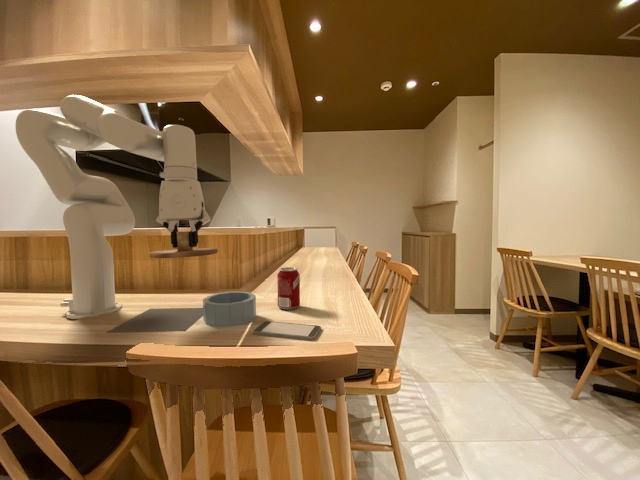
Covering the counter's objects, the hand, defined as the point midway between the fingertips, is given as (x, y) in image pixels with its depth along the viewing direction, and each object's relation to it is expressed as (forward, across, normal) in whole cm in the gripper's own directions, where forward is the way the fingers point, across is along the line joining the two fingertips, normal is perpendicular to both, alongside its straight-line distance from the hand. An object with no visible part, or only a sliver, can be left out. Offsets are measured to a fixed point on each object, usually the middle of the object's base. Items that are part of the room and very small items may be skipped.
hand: (185, 246), depth 73 cm
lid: (+2, 0, 0) cm, 2 cm away
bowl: (+20, +11, 0) cm, 23 cm away
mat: (+20, -6, 0) cm, 21 cm away
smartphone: (+21, +27, -8) cm, 35 cm away
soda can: (+21, +26, +11) cm, 35 cm away
